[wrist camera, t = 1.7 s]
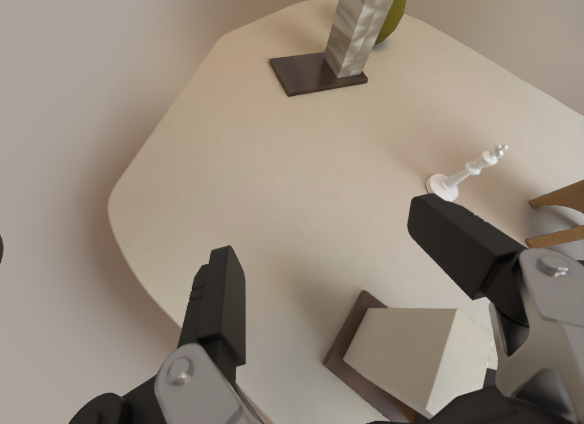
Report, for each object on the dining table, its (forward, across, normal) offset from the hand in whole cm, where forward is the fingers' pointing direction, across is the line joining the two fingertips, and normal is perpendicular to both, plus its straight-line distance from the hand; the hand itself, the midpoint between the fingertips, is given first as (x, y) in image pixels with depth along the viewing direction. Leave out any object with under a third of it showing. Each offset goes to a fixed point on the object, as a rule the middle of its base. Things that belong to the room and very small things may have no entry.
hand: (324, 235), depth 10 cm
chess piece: (+19, -23, +15) cm, 34 cm away
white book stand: (+40, -12, -3) cm, 42 cm away
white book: (+3, -4, +19) cm, 20 cm away
